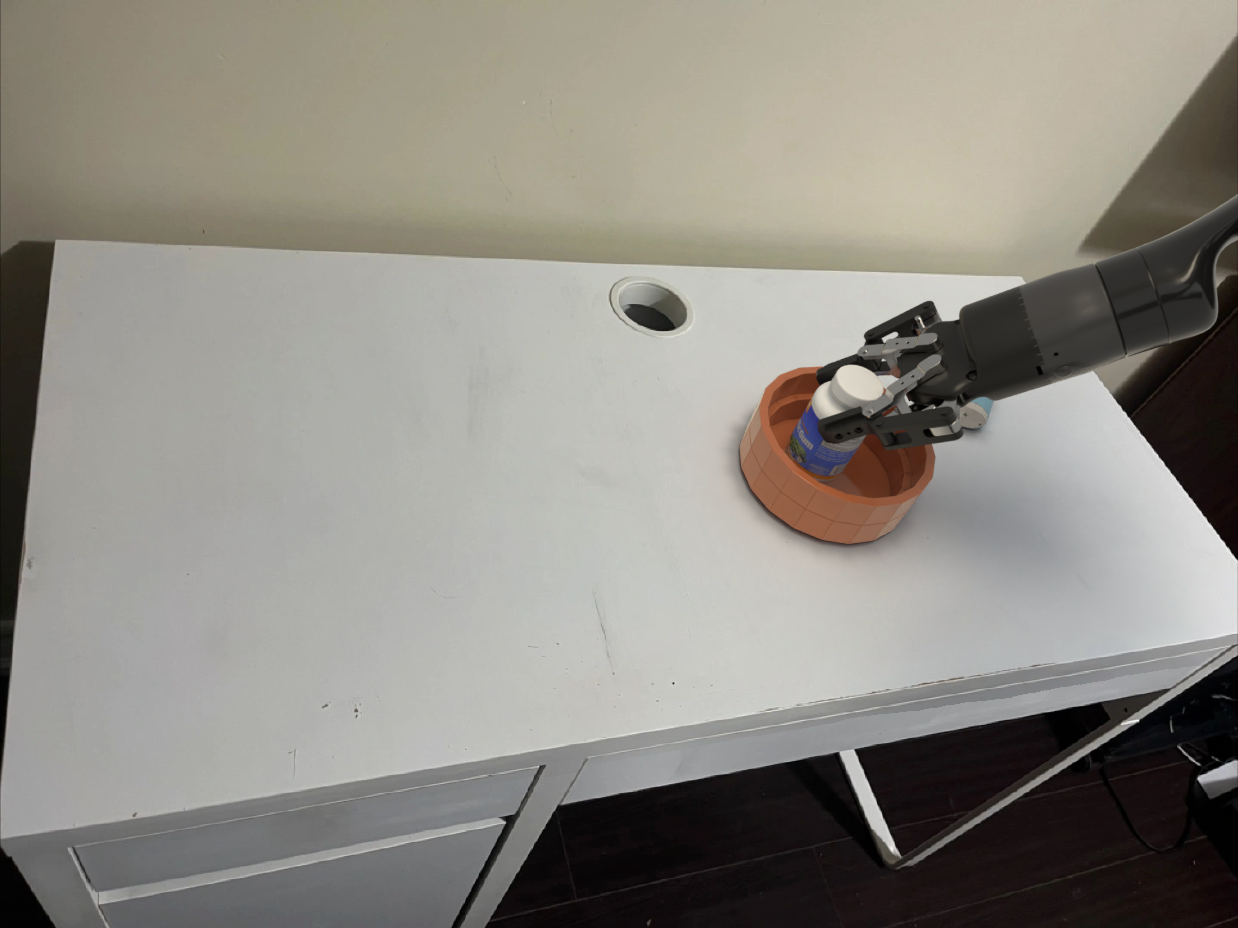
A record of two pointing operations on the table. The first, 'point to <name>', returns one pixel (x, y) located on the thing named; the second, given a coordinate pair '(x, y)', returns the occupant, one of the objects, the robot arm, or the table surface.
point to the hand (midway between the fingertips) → (821, 406)
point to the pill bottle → (829, 399)
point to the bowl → (845, 505)
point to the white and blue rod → (975, 413)
